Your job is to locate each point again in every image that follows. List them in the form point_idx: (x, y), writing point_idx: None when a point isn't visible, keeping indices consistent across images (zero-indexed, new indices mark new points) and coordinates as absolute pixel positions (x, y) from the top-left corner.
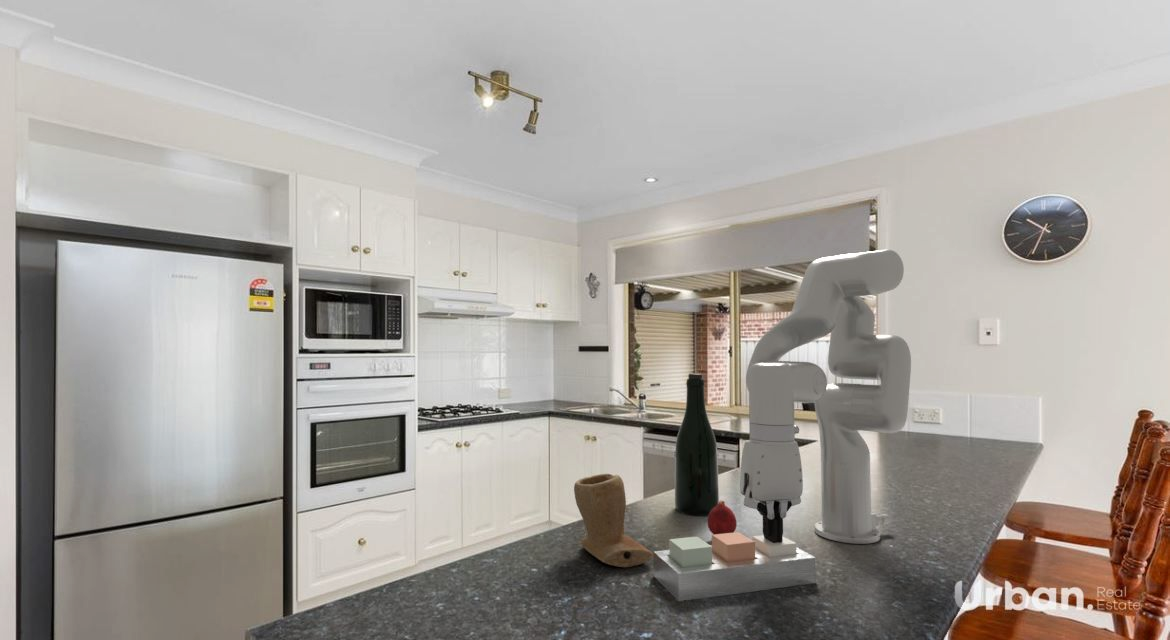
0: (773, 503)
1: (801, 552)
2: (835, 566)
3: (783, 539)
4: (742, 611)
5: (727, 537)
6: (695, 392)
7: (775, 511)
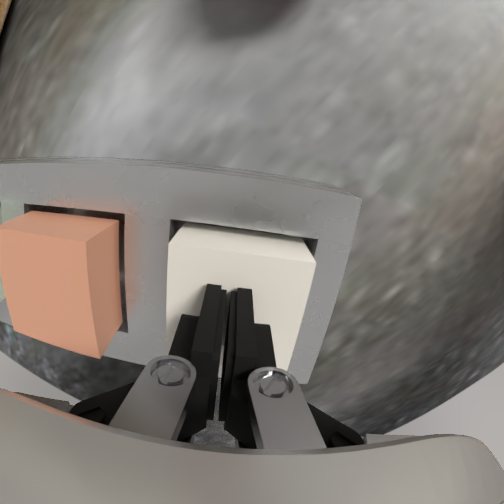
0: (256, 441)
1: (305, 347)
2: (424, 280)
3: (274, 330)
4: (68, 357)
5: (26, 278)
6: None
7: (242, 421)
